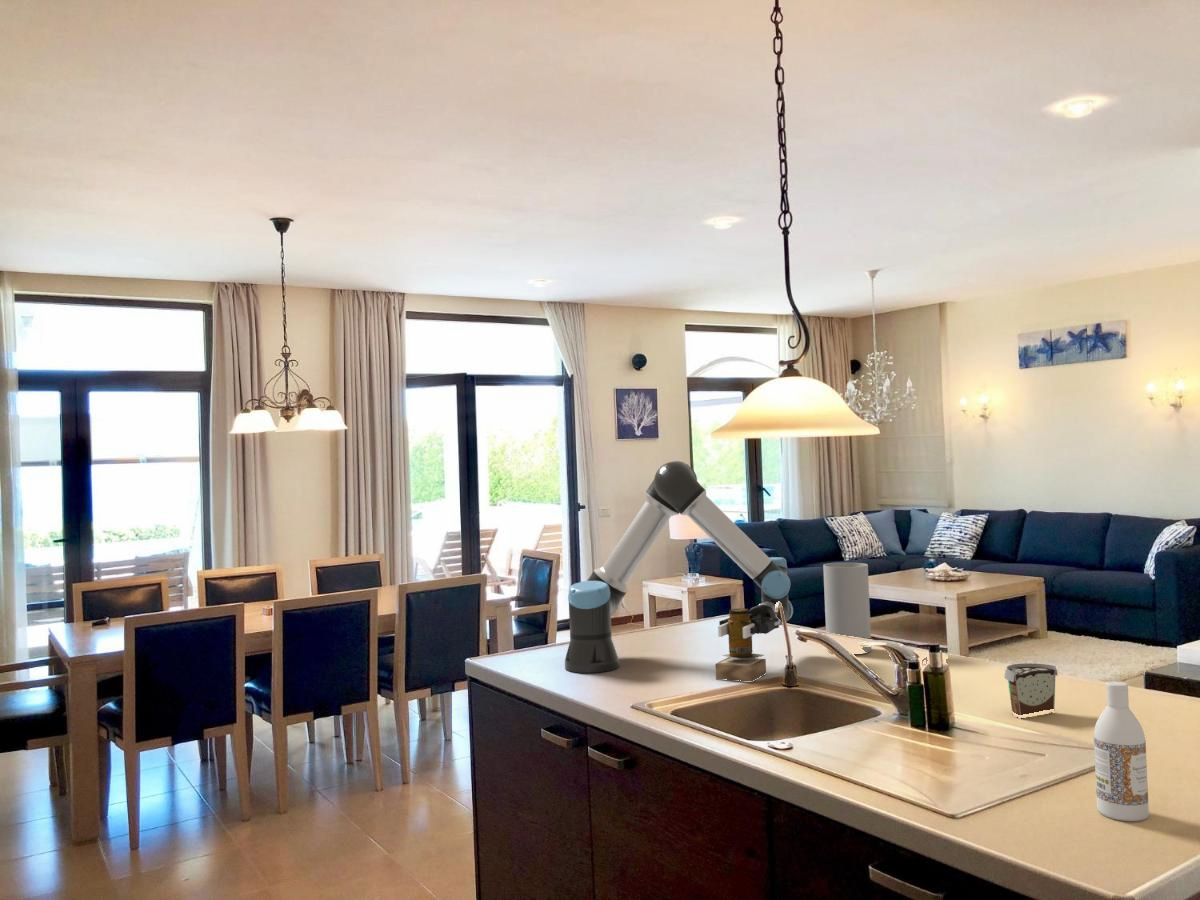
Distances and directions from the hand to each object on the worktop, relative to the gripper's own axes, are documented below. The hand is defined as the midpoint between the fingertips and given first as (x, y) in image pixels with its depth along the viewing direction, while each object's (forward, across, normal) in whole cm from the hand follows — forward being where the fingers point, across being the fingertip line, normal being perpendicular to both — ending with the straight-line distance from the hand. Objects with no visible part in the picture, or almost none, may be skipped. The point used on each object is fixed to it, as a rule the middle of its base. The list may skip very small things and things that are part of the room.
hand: (731, 632), depth 239 cm
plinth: (-5, 0, -12) cm, 14 cm away
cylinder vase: (-46, -17, -13) cm, 51 cm away
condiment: (-5, -1, -7) cm, 9 cm away
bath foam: (+60, -88, -13) cm, 107 cm away
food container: (+5, -69, -13) cm, 70 cm away
